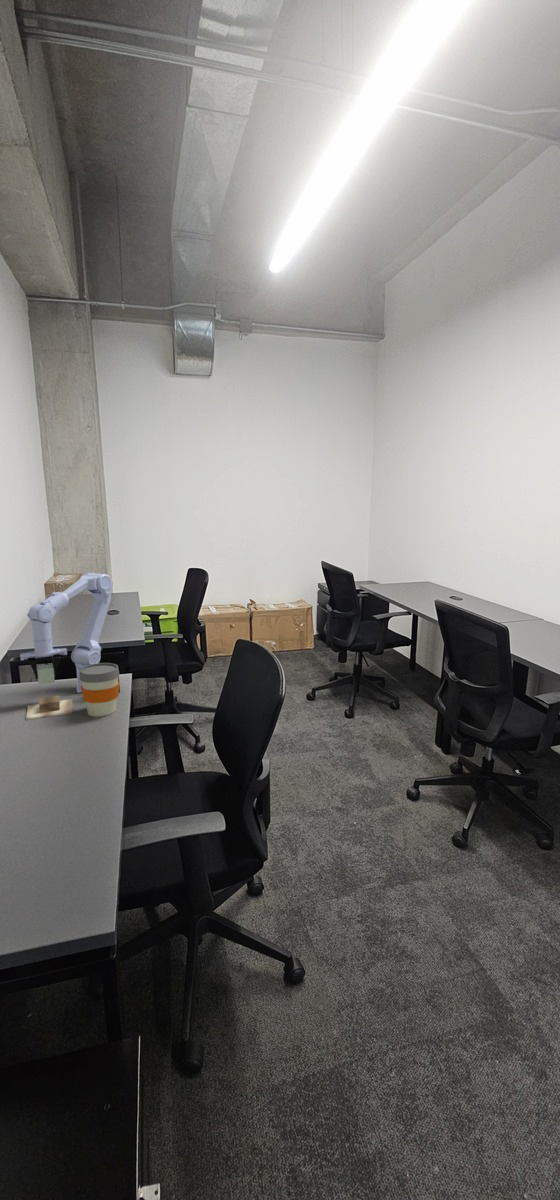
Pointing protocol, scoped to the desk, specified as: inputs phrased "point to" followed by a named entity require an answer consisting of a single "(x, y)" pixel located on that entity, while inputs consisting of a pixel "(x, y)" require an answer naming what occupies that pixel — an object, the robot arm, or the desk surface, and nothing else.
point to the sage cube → (45, 674)
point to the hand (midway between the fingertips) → (45, 677)
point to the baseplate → (37, 714)
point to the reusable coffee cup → (100, 688)
